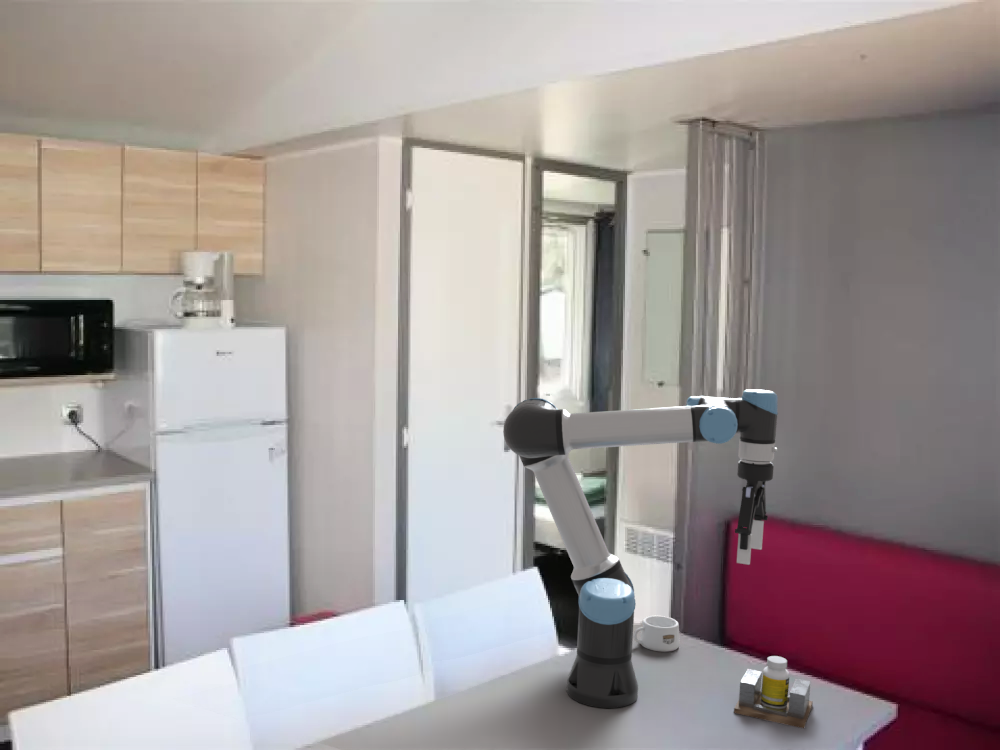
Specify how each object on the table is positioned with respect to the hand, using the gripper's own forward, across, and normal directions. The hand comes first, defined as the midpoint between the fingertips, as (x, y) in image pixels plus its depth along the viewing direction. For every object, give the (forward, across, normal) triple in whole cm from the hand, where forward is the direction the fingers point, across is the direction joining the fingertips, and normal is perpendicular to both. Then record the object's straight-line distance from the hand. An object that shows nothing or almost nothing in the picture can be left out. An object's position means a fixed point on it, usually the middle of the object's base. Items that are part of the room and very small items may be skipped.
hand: (749, 555), depth 214 cm
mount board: (+29, -11, -9) cm, 32 cm away
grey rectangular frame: (+29, -11, -9) cm, 32 cm away
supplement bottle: (+28, -11, -9) cm, 31 cm away
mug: (+29, +11, +23) cm, 39 cm away
